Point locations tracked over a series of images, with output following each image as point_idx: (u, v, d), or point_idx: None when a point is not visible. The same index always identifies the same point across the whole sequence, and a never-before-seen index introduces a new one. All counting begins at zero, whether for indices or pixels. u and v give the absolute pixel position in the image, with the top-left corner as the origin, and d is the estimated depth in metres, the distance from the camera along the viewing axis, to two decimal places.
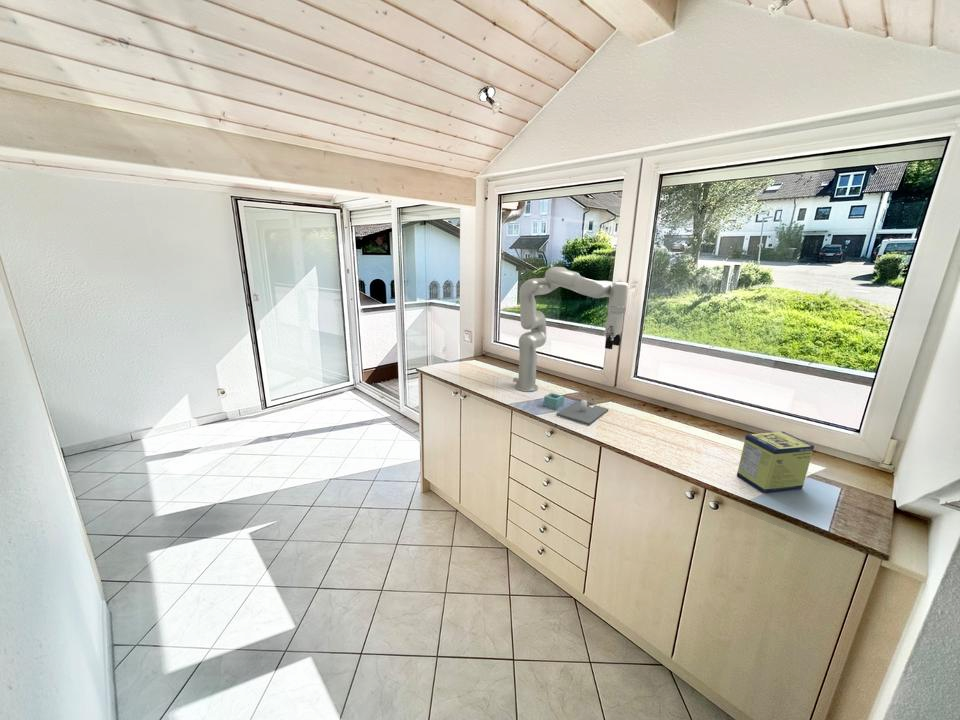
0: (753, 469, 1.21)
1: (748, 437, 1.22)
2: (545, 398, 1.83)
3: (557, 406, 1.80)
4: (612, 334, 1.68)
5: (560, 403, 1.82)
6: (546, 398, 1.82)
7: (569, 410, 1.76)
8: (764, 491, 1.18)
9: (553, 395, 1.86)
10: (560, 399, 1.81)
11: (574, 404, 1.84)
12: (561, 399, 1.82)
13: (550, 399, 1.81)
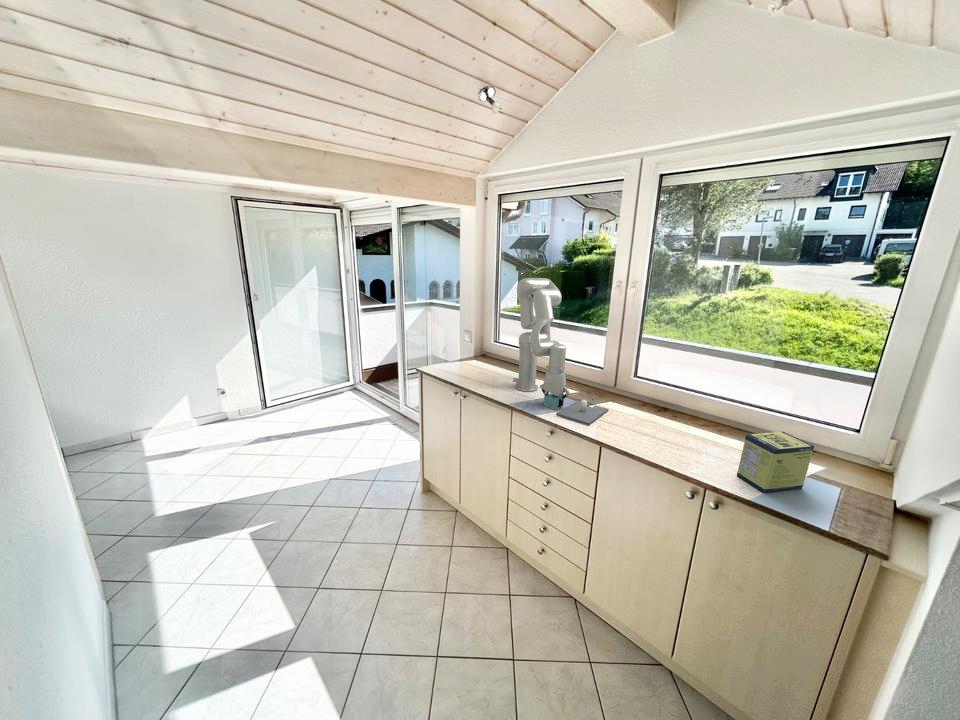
0: (753, 469, 1.21)
1: (748, 437, 1.22)
2: (545, 398, 1.83)
3: (557, 406, 1.80)
4: (562, 392, 1.81)
5: None
6: (546, 398, 1.82)
7: (569, 410, 1.76)
8: (764, 491, 1.18)
9: (553, 395, 1.86)
10: None
11: (574, 404, 1.84)
12: None
13: (550, 399, 1.81)
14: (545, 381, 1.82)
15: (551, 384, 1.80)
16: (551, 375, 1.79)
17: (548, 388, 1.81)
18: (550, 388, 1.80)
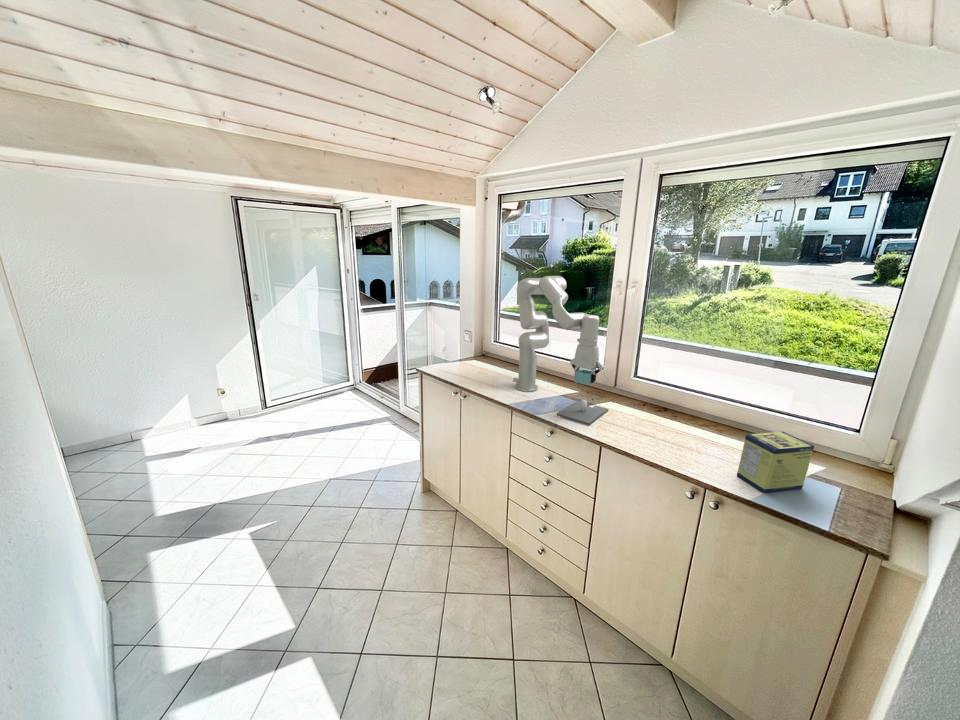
0: (753, 469, 1.21)
1: (748, 437, 1.22)
2: (576, 373, 1.71)
3: (589, 382, 1.68)
4: (595, 367, 1.69)
5: None
6: (577, 373, 1.70)
7: (569, 410, 1.76)
8: (764, 491, 1.18)
9: (584, 371, 1.74)
10: None
11: (574, 404, 1.84)
12: None
13: (582, 374, 1.69)
14: (576, 355, 1.70)
15: (583, 358, 1.68)
16: (583, 348, 1.67)
17: (579, 363, 1.69)
18: (582, 363, 1.68)
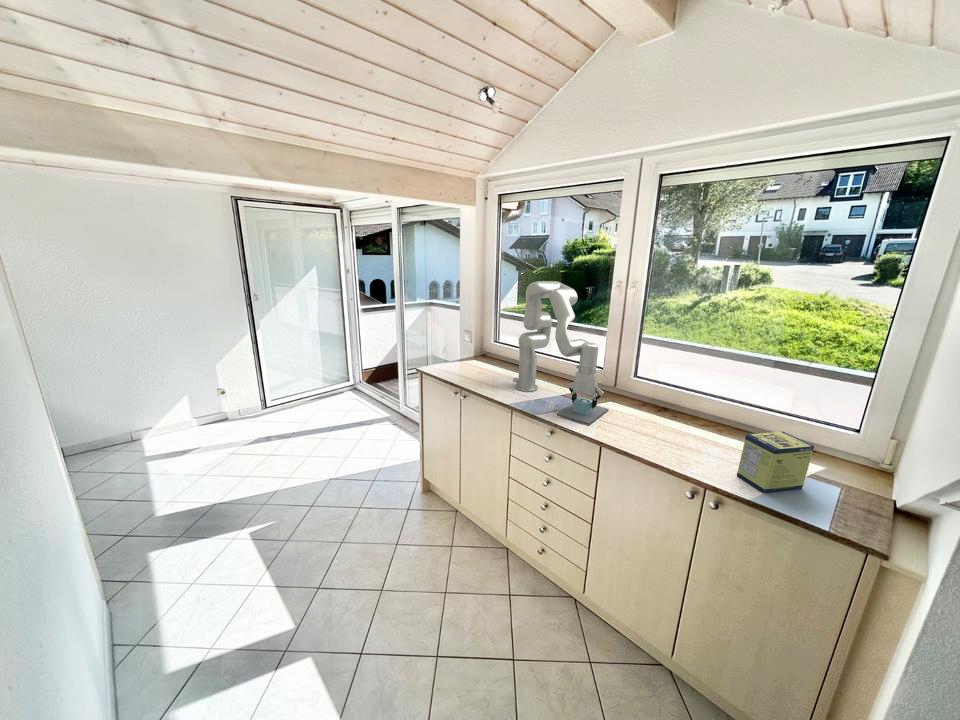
0: (753, 469, 1.21)
1: (748, 437, 1.22)
2: (574, 403, 1.74)
3: (587, 411, 1.72)
4: (595, 393, 1.71)
5: (590, 408, 1.74)
6: (576, 403, 1.74)
7: (569, 410, 1.76)
8: (764, 491, 1.18)
9: None
10: (590, 404, 1.73)
11: None
12: (591, 404, 1.74)
13: (580, 404, 1.72)
14: (575, 382, 1.73)
15: (582, 385, 1.70)
16: (582, 375, 1.70)
17: (578, 389, 1.72)
18: (581, 389, 1.71)
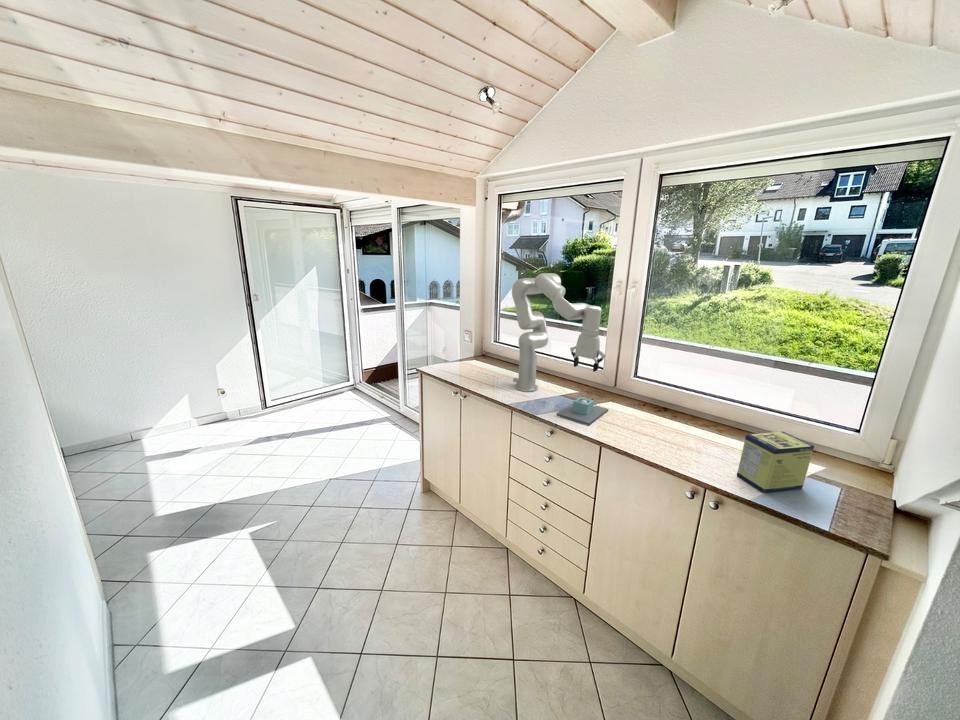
0: (753, 469, 1.21)
1: (748, 437, 1.22)
2: (574, 403, 1.74)
3: (587, 411, 1.72)
4: (597, 356, 1.72)
5: (590, 408, 1.74)
6: (576, 403, 1.74)
7: (569, 410, 1.76)
8: (764, 491, 1.18)
9: None
10: (590, 404, 1.73)
11: None
12: (591, 404, 1.74)
13: (580, 404, 1.72)
14: (577, 345, 1.74)
15: (584, 348, 1.71)
16: (584, 338, 1.71)
17: (580, 352, 1.73)
18: (583, 352, 1.72)
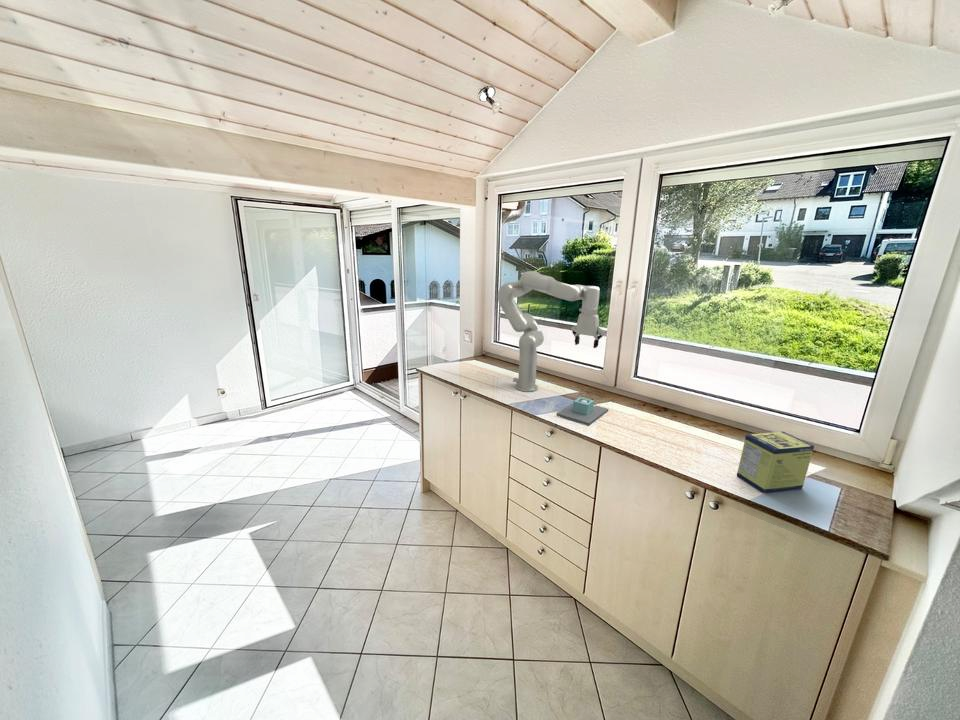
0: (753, 469, 1.21)
1: (748, 437, 1.22)
2: (574, 403, 1.74)
3: (587, 411, 1.72)
4: (597, 334, 1.83)
5: (590, 408, 1.74)
6: (576, 403, 1.74)
7: (569, 410, 1.76)
8: (764, 491, 1.18)
9: None
10: (590, 404, 1.73)
11: None
12: (591, 404, 1.74)
13: (580, 404, 1.72)
14: (578, 323, 1.85)
15: (585, 326, 1.82)
16: (584, 317, 1.82)
17: (581, 330, 1.84)
18: (584, 330, 1.83)
